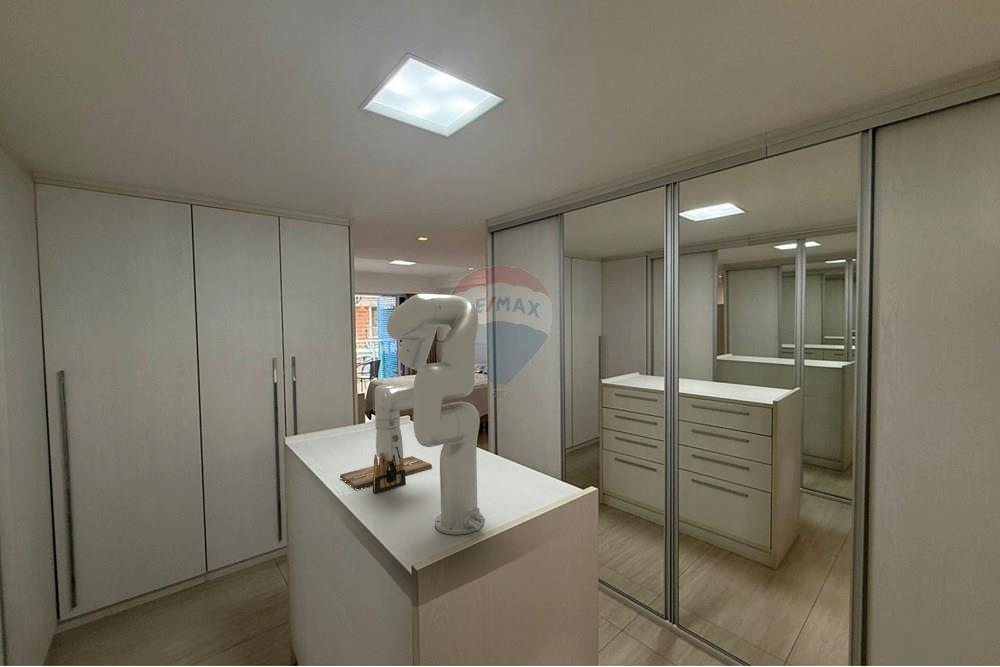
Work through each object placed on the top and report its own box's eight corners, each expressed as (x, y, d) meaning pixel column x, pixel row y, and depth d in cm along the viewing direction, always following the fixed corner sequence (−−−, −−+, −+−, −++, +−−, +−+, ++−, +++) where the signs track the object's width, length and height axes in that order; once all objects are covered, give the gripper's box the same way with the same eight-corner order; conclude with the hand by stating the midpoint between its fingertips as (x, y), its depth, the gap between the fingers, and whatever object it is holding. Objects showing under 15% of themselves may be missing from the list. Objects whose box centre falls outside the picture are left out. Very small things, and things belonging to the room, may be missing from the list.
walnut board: (431, 468, 149) (431, 464, 149) (357, 490, 130) (357, 485, 130) (412, 459, 159) (412, 455, 159) (340, 478, 141) (340, 474, 141)
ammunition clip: (375, 494, 127) (374, 455, 127) (372, 492, 128) (371, 454, 128) (406, 484, 134) (405, 448, 134) (403, 483, 135) (402, 446, 135)
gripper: (410, 425, 127) (412, 483, 128) (387, 418, 139) (388, 471, 139) (388, 429, 122) (390, 490, 123) (365, 421, 134) (367, 477, 134)
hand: (389, 480), depth 131 cm, fingers closed on ammunition clip, 2 cm apart
